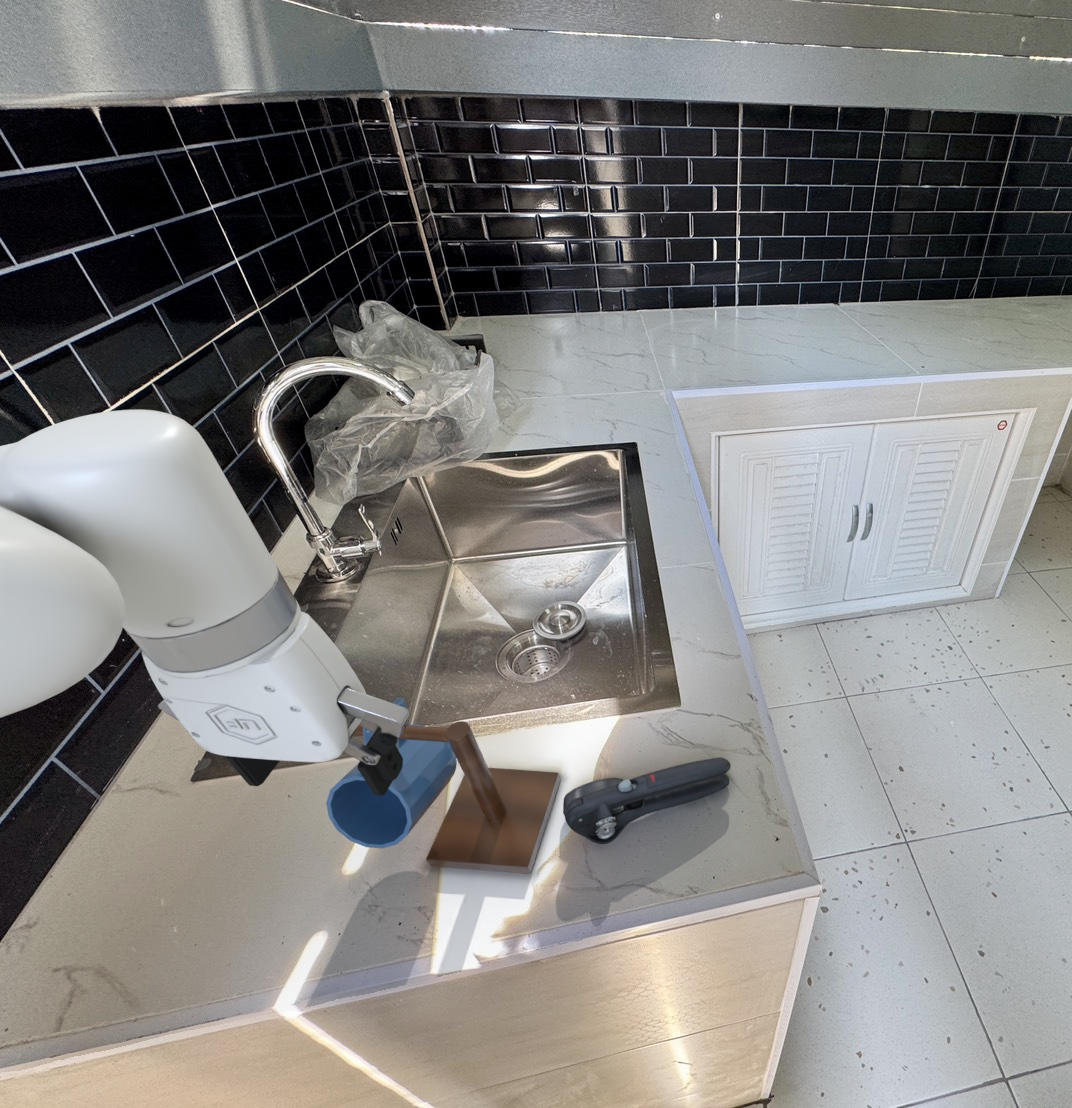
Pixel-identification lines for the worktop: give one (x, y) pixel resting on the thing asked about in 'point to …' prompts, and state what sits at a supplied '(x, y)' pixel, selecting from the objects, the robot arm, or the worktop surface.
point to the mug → (392, 793)
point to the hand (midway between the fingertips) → (329, 773)
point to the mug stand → (488, 808)
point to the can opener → (639, 797)
